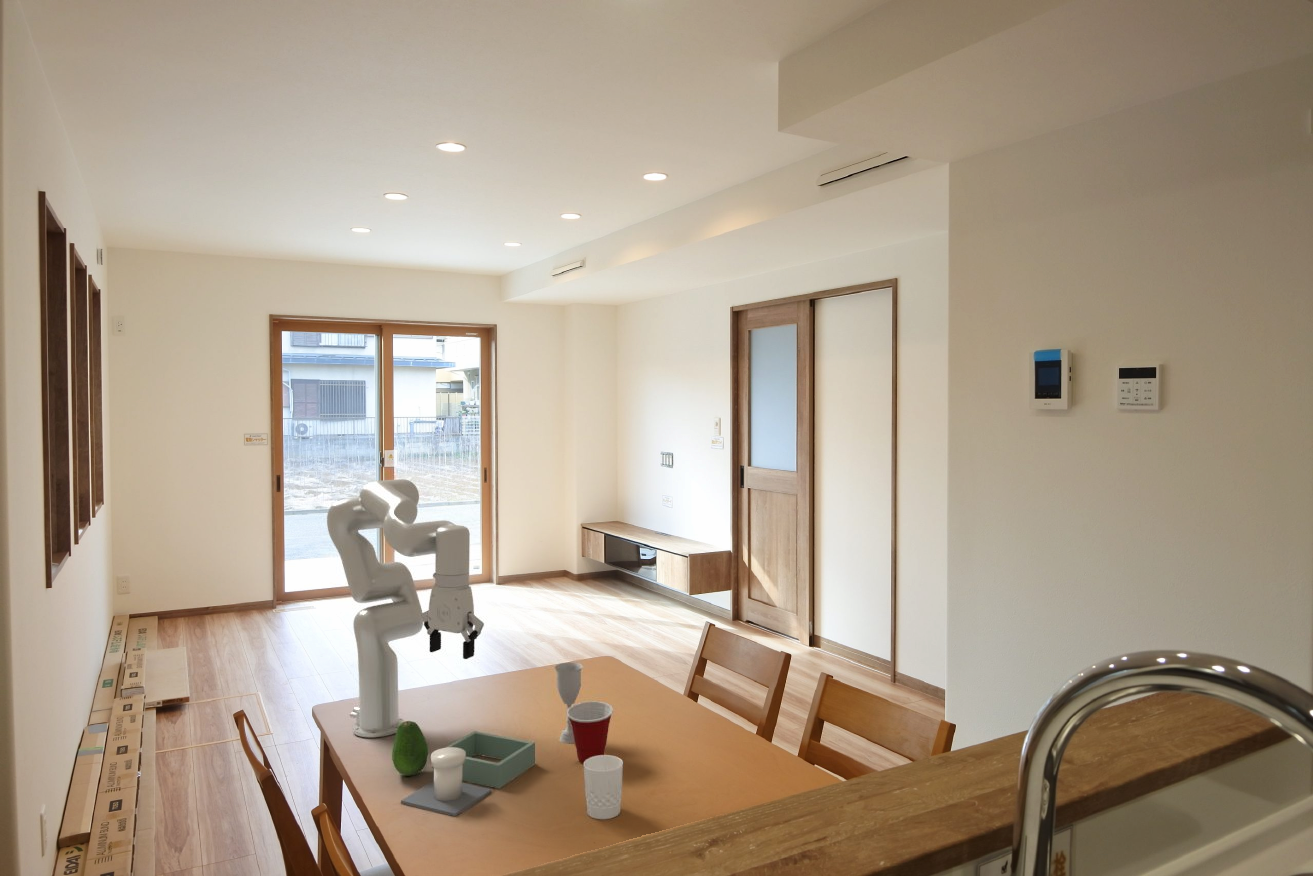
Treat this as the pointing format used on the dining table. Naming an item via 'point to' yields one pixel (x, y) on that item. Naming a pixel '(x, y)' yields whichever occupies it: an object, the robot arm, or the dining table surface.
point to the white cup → (603, 786)
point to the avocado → (409, 749)
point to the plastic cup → (590, 727)
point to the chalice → (568, 691)
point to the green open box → (489, 773)
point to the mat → (453, 807)
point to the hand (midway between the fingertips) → (451, 654)
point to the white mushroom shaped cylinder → (448, 772)
